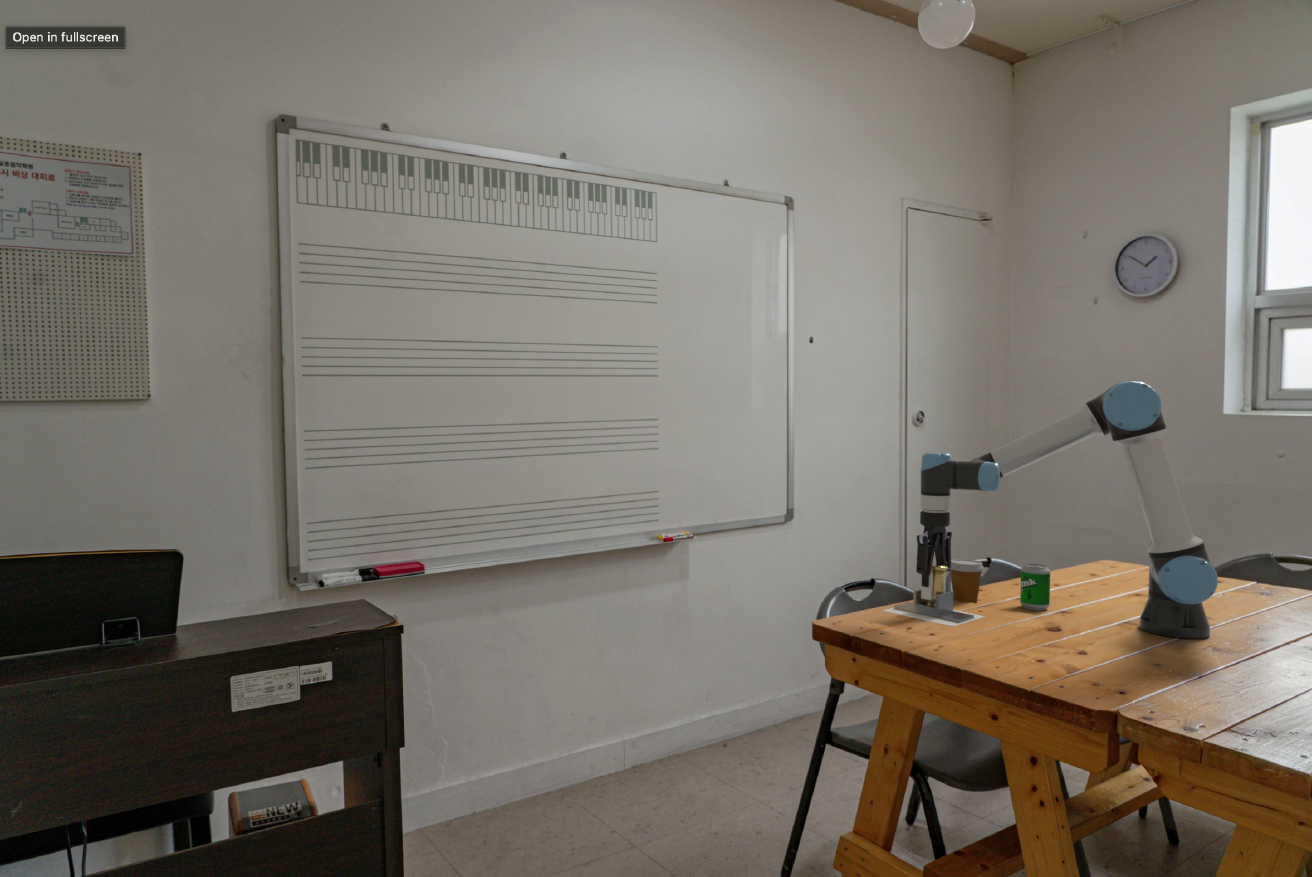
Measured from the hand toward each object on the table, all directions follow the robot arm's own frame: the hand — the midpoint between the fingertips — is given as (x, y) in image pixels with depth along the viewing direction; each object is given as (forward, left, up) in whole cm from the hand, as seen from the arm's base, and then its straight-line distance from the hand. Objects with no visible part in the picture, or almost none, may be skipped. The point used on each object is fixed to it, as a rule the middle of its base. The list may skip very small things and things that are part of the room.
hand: (933, 596), depth 221 cm
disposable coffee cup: (+3, -23, -6) cm, 24 cm away
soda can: (-12, -33, -6) cm, 35 cm away
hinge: (0, 0, -4) cm, 4 cm away
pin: (0, 0, -4) cm, 4 cm away
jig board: (0, 0, -6) cm, 6 cm away
